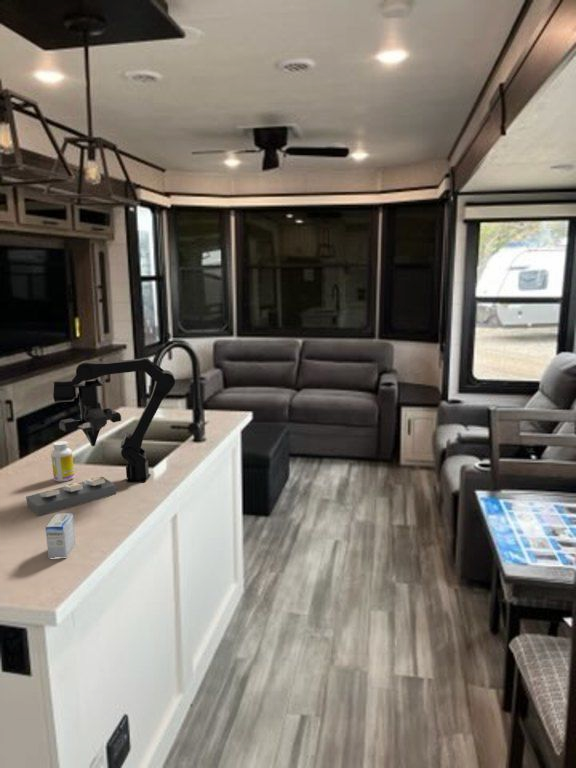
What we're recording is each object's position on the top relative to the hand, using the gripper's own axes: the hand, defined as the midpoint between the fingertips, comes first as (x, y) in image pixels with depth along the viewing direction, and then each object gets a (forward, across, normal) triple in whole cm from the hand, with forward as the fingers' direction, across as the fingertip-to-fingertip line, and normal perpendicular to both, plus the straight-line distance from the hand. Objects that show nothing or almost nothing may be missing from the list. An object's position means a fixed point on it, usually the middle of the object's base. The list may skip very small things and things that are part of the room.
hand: (93, 446), depth 188 cm
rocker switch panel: (+13, -11, -8) cm, 19 cm away
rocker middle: (+8, -11, -10) cm, 17 cm away
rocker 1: (+8, -18, -10) cm, 22 cm away
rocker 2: (+8, -4, -10) cm, 14 cm away
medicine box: (+13, -26, -40) cm, 50 cm away
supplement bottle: (+13, -6, +12) cm, 19 cm away
